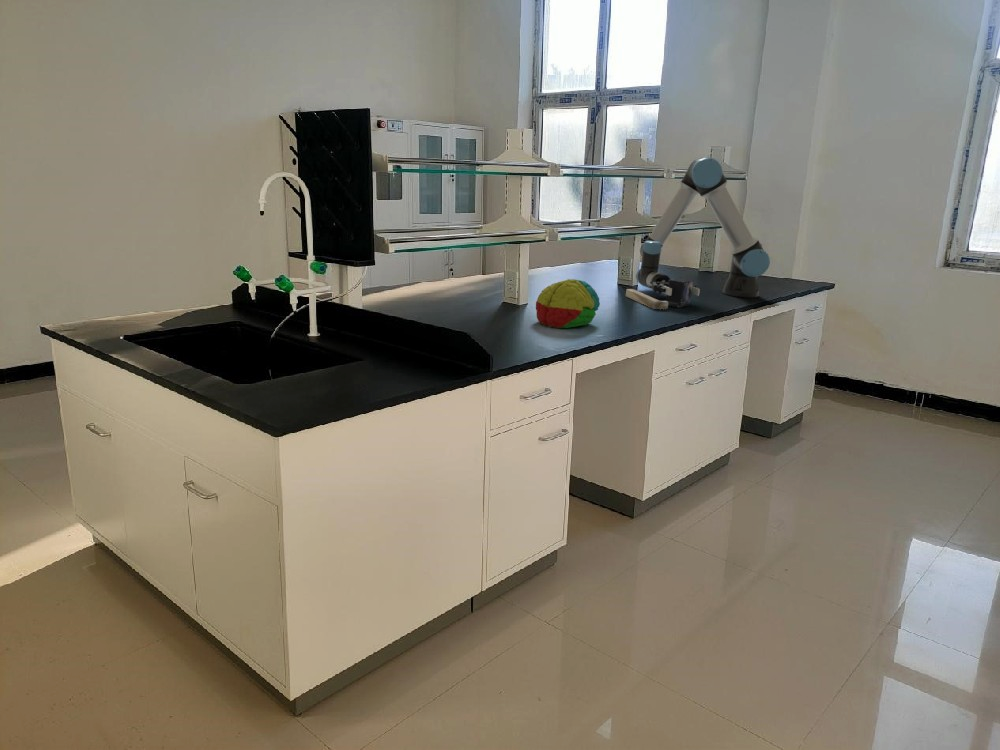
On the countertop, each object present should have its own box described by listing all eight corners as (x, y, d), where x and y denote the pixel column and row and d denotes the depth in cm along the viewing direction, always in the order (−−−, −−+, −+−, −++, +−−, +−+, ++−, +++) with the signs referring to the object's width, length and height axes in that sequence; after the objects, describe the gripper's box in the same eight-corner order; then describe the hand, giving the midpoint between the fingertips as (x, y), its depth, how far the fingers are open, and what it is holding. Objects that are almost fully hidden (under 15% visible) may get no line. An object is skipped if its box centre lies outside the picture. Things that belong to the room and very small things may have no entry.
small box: (680, 308, 280) (683, 281, 277) (664, 305, 284) (668, 279, 281) (691, 305, 289) (694, 279, 286) (676, 302, 292) (679, 276, 289)
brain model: (568, 312, 259) (571, 271, 254) (611, 323, 246) (614, 280, 241) (523, 323, 243) (524, 279, 238) (565, 335, 230) (568, 289, 225)
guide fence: (637, 296, 300) (638, 289, 300) (667, 309, 277) (668, 302, 276) (625, 296, 299) (626, 289, 298) (654, 309, 275) (655, 302, 274)
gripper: (683, 291, 305) (710, 301, 285) (631, 290, 299) (656, 301, 279) (685, 273, 303) (713, 283, 283) (633, 272, 297) (658, 282, 277)
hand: (684, 292), depth 281 cm, fingers closed on small box, 11 cm apart
